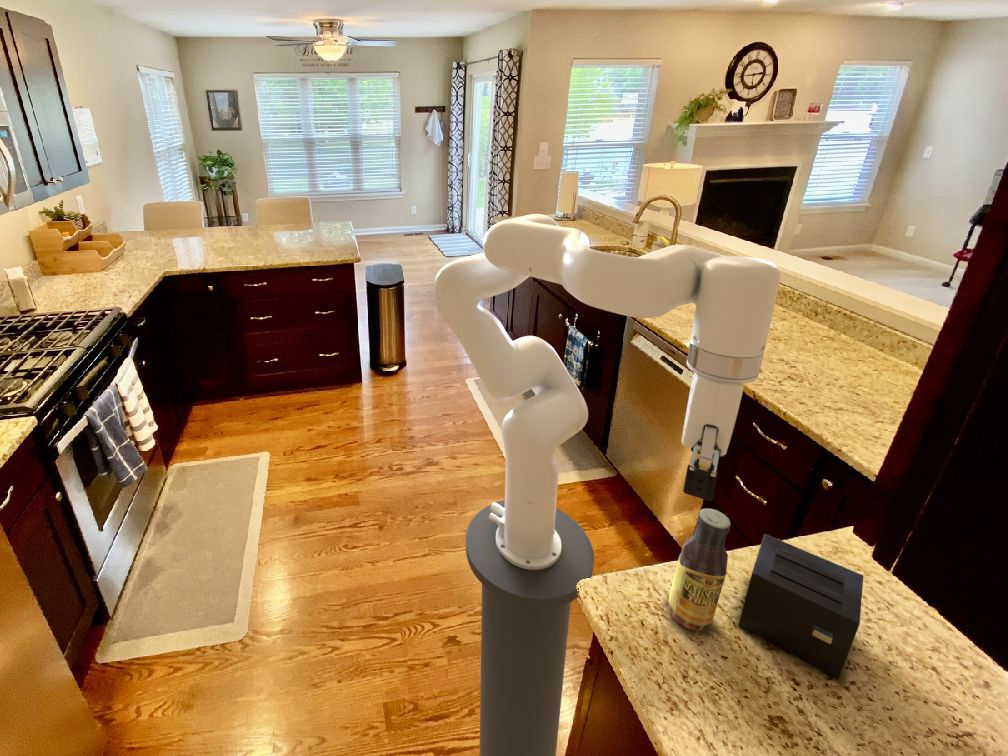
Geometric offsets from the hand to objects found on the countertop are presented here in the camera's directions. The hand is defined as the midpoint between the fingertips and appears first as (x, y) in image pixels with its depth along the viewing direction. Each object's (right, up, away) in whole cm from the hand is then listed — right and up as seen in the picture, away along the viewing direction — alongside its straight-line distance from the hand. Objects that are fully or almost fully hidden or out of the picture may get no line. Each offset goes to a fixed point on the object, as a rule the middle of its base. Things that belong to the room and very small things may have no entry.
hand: (700, 473), depth 65 cm
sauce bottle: (+6, -27, +13) cm, 31 cm away
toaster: (+20, -28, +10) cm, 36 cm away
